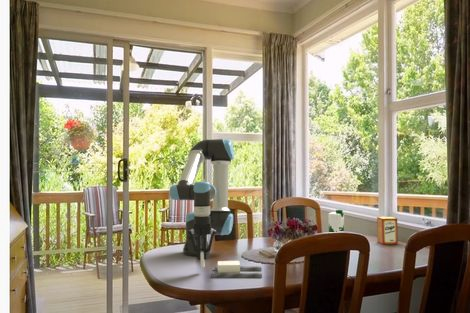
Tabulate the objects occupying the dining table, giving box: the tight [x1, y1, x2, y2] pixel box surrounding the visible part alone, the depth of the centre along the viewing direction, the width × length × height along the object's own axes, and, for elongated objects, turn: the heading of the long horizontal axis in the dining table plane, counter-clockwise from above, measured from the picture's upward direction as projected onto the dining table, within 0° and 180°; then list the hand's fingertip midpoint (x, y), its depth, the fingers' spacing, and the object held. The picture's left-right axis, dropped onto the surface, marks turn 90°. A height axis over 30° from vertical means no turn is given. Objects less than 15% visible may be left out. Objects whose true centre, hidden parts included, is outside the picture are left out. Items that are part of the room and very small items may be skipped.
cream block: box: [217, 260, 241, 273], centre depth 164 cm, size 10×7×5 cm
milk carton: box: [327, 209, 345, 233], centre depth 229 cm, size 9×9×20 cm
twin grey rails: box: [211, 265, 263, 279], centre depth 164 cm, size 22×12×2 cm, turn 87°
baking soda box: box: [376, 216, 399, 245], centre depth 222 cm, size 10×6×16 cm
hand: (202, 266), depth 165 cm, fingers closed
